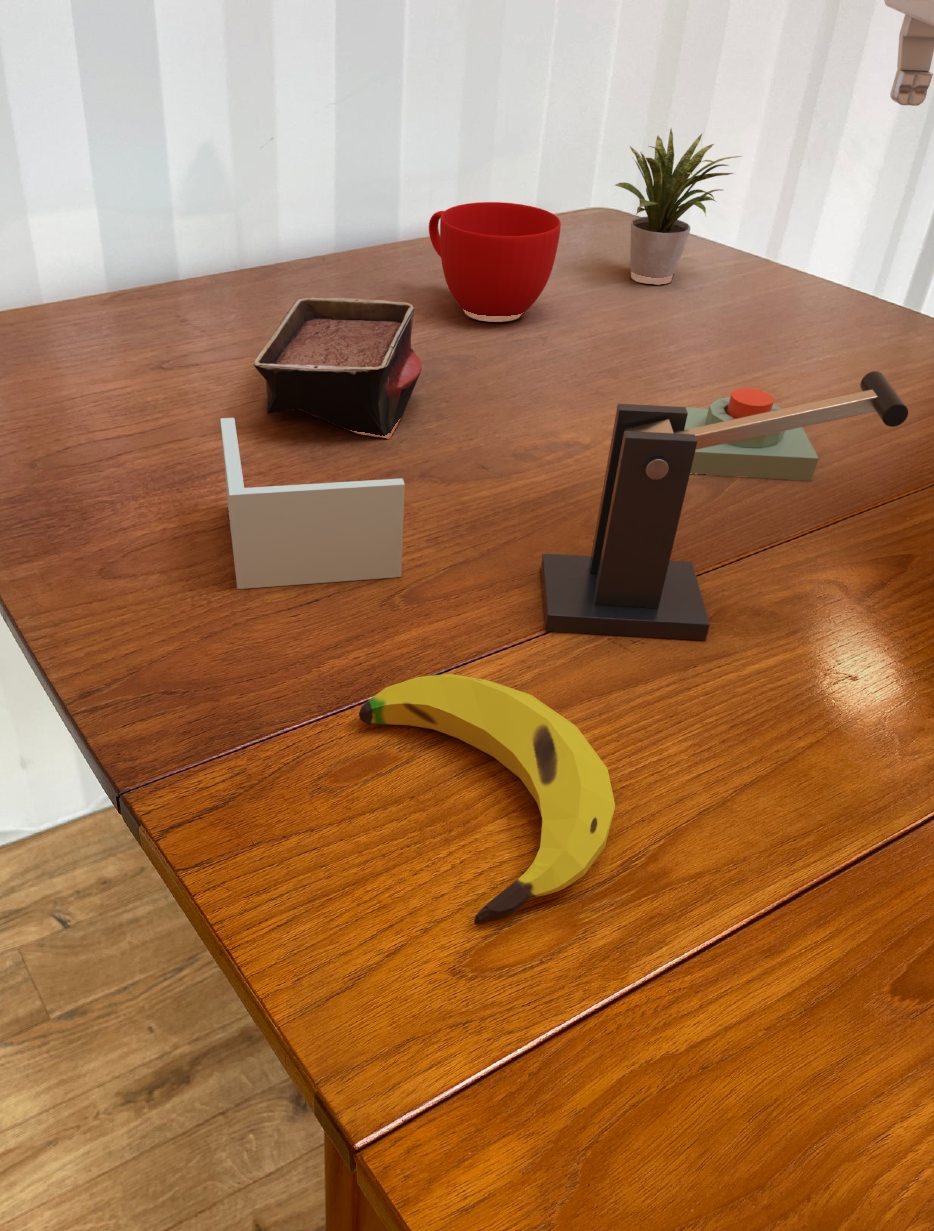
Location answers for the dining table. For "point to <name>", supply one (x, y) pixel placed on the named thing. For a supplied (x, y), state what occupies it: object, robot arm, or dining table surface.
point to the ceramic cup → (495, 254)
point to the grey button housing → (752, 450)
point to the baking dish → (343, 362)
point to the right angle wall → (311, 527)
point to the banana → (517, 769)
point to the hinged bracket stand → (633, 542)
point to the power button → (749, 403)
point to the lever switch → (799, 415)
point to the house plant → (666, 207)
